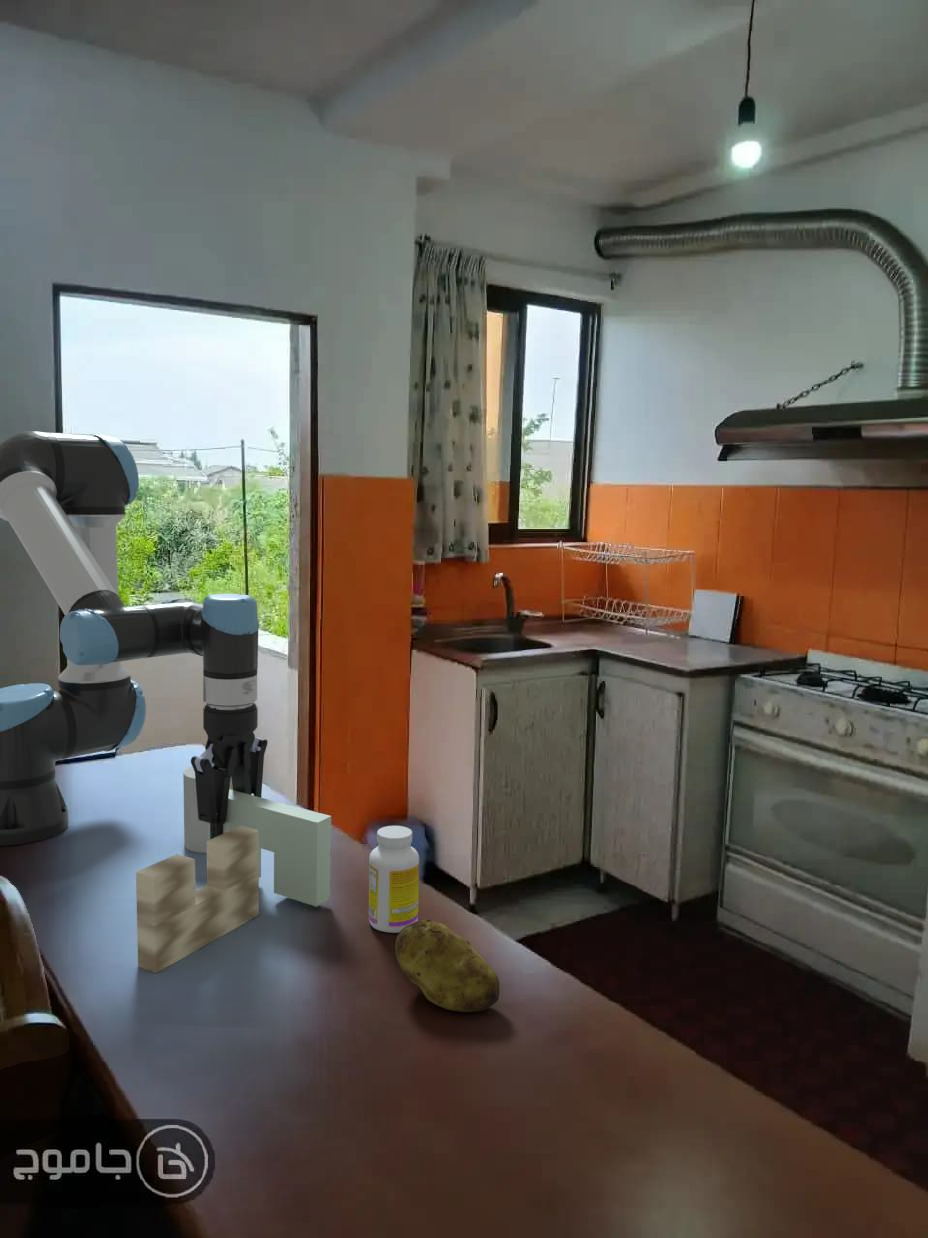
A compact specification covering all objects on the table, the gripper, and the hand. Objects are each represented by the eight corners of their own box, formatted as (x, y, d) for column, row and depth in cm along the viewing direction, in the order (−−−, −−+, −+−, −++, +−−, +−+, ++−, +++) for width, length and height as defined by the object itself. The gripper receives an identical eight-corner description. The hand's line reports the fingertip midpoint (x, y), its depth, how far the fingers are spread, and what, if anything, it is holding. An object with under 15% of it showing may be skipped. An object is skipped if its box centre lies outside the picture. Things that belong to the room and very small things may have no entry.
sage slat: (207, 871, 137) (207, 793, 135) (222, 864, 140) (222, 787, 138) (316, 906, 127) (317, 822, 126) (329, 898, 130) (331, 816, 128)
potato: (449, 1036, 101) (451, 966, 99) (383, 984, 110) (384, 920, 109) (507, 1011, 106) (510, 944, 104) (439, 963, 116) (441, 902, 114)
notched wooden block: (155, 973, 111) (153, 877, 109) (138, 966, 113) (135, 872, 111) (258, 915, 127) (258, 830, 125) (242, 909, 128) (241, 825, 126)
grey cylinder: (228, 853, 147) (228, 780, 145) (177, 851, 147) (176, 778, 145) (242, 834, 155) (241, 764, 153) (193, 832, 155) (192, 762, 153)
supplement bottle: (426, 918, 127) (429, 828, 125) (403, 939, 121) (405, 845, 119) (383, 908, 130) (385, 819, 128) (358, 927, 124) (360, 835, 122)
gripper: (209, 719, 124) (209, 886, 128) (288, 696, 138) (286, 847, 142) (168, 710, 128) (170, 872, 131) (249, 689, 142) (248, 836, 145)
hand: (230, 859), depth 137 cm, fingers closed on sage slat, 3 cm apart
